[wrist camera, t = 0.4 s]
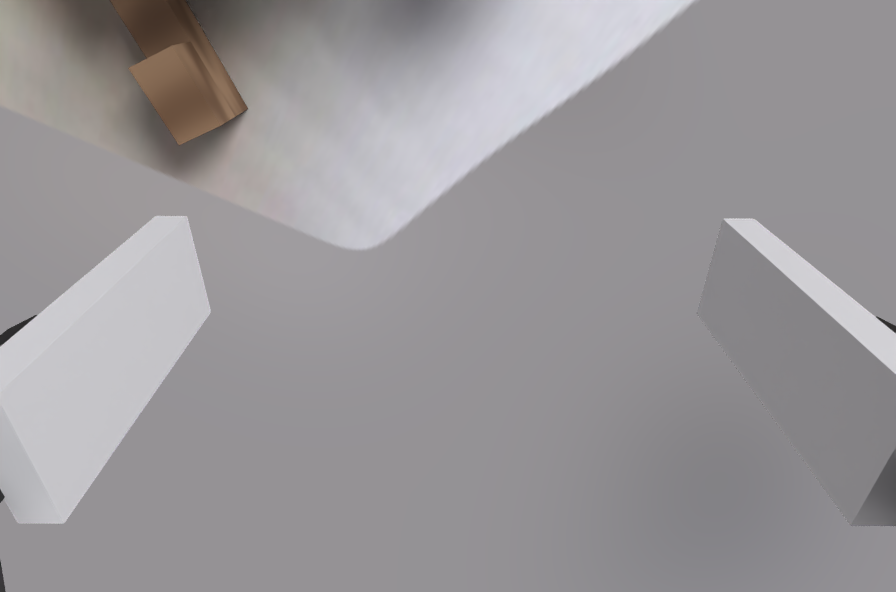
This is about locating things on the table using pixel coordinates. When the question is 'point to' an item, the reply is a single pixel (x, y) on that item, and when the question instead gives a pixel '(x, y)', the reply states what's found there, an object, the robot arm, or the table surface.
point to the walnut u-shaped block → (179, 68)
